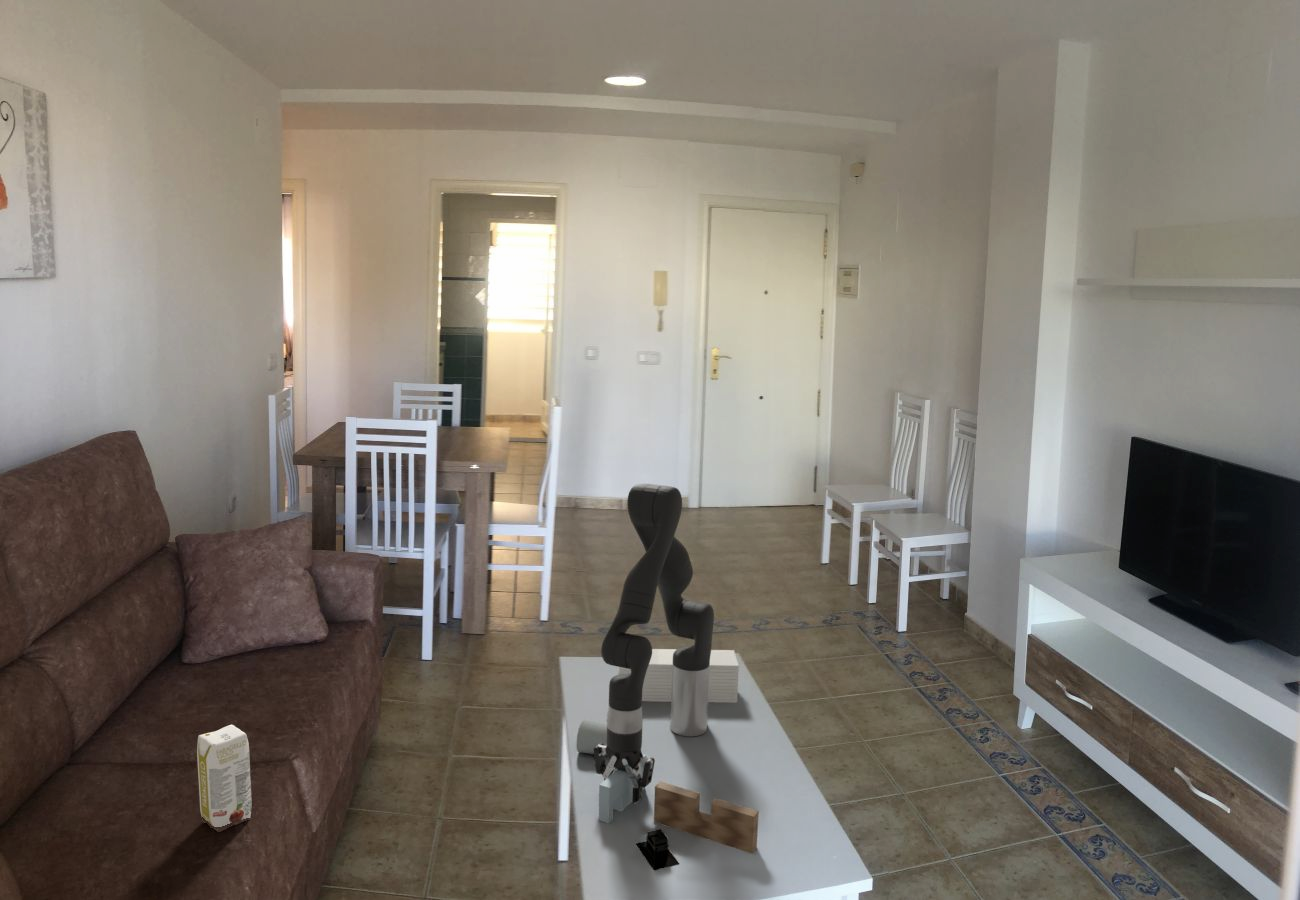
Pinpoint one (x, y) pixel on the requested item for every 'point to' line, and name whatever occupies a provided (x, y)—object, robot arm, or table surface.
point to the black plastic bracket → (657, 850)
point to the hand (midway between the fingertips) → (622, 796)
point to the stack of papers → (660, 676)
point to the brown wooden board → (706, 817)
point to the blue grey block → (615, 794)
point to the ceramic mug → (591, 736)
